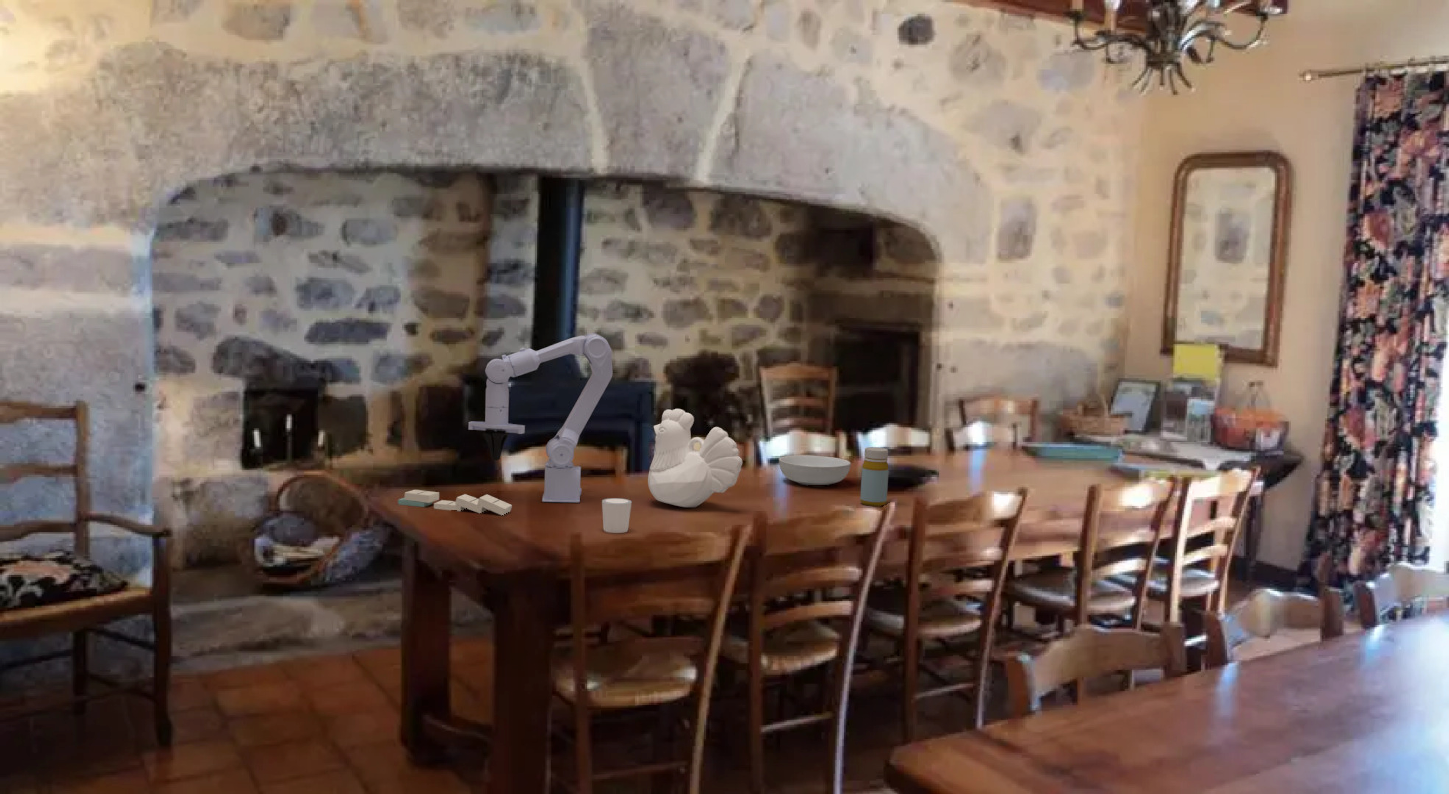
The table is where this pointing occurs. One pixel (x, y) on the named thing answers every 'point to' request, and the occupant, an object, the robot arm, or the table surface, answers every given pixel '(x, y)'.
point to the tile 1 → (412, 503)
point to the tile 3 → (447, 505)
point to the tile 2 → (421, 496)
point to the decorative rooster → (690, 462)
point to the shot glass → (616, 514)
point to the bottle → (874, 477)
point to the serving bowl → (814, 469)
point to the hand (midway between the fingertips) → (495, 459)
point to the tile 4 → (469, 503)
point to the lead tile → (494, 504)
